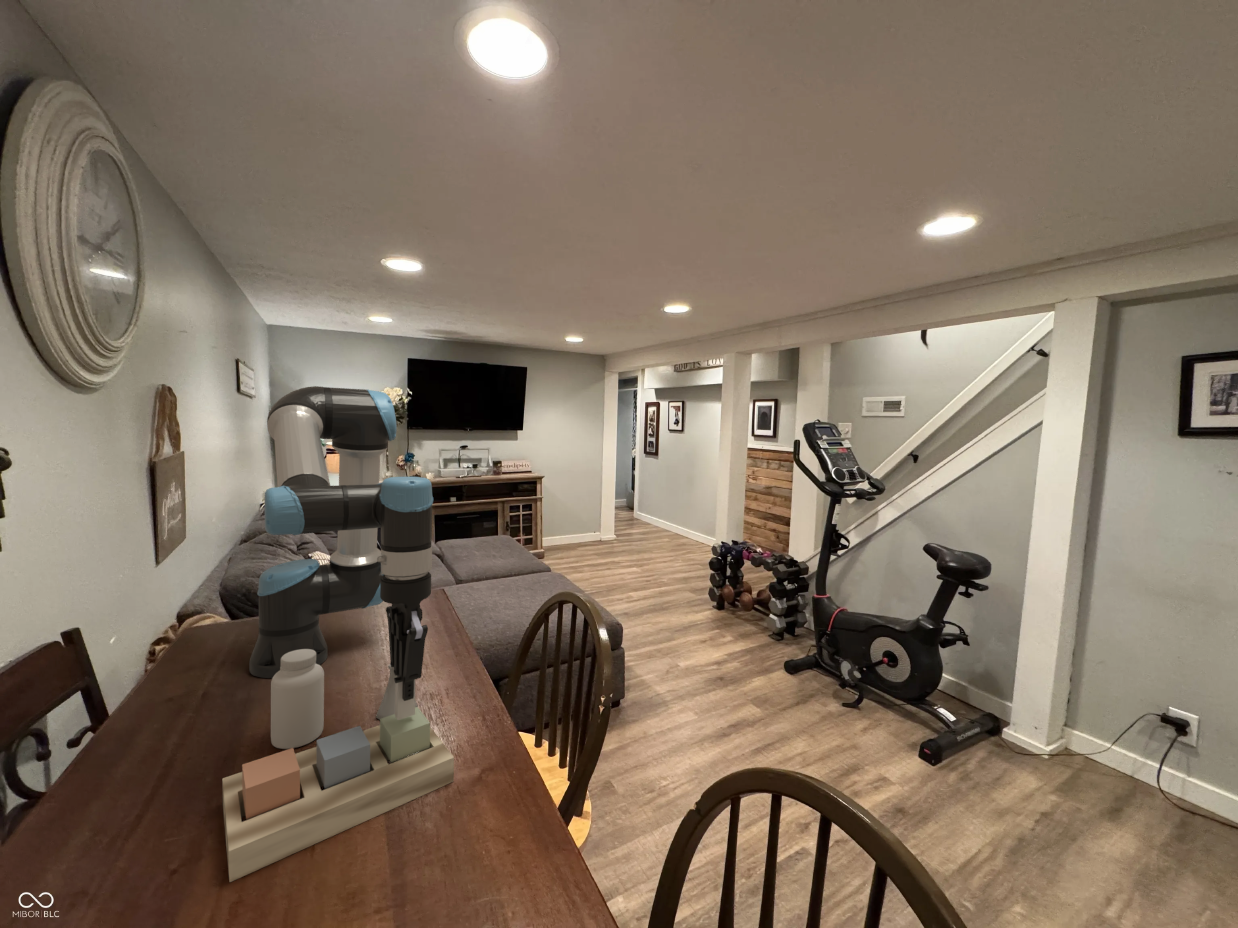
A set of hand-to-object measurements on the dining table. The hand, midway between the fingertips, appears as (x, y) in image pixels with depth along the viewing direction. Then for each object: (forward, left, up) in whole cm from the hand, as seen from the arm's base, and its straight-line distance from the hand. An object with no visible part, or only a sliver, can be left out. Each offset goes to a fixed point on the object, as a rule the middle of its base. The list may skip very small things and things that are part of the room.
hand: (405, 715), depth 80 cm
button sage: (0, 0, -5) cm, 5 cm away
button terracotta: (0, -18, -5) cm, 19 cm away
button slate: (0, -9, -5) cm, 10 cm away
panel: (0, -9, -9) cm, 13 cm away
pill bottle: (-20, -12, -9) cm, 25 cm away
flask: (-17, +4, -9) cm, 20 cm away
